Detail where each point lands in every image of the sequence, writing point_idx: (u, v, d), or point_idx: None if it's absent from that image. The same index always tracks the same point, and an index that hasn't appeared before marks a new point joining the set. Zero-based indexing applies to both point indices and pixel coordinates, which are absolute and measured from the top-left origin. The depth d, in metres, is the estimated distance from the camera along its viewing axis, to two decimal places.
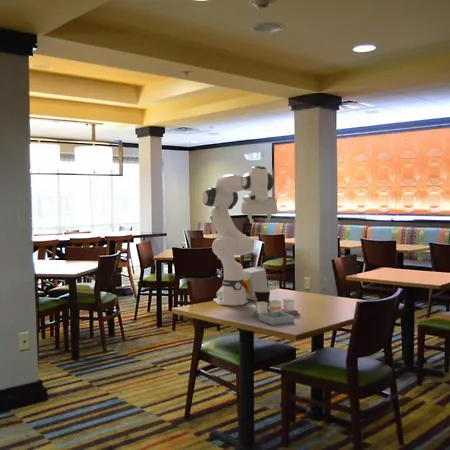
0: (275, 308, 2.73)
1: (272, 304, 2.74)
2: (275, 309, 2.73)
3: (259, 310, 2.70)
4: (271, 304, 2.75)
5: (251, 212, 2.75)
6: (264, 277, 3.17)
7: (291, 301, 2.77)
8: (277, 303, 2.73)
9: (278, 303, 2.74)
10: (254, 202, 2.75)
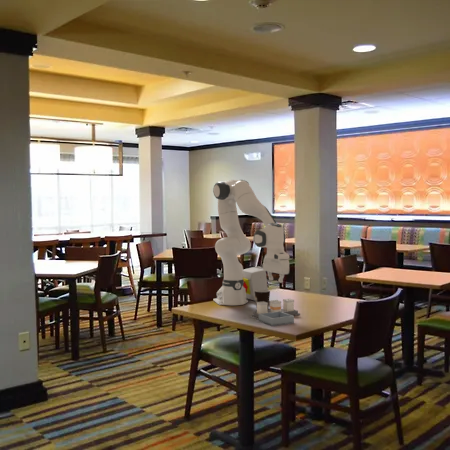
0: (275, 308, 2.73)
1: (272, 304, 2.74)
2: (275, 309, 2.73)
3: (259, 310, 2.70)
4: (271, 304, 2.75)
5: None
6: (264, 277, 3.17)
7: (291, 301, 2.77)
8: (277, 303, 2.73)
9: (278, 303, 2.74)
10: None
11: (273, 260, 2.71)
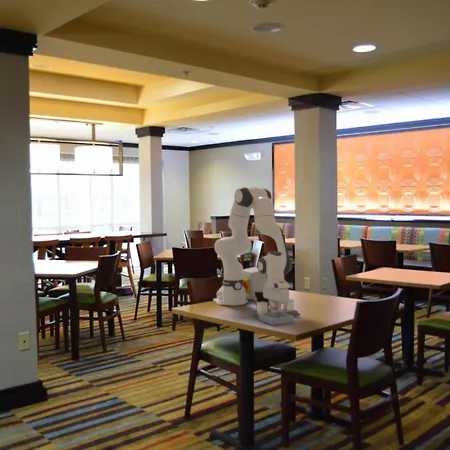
0: (275, 308, 2.73)
1: (272, 304, 2.74)
2: (275, 309, 2.73)
3: (259, 310, 2.70)
4: (271, 304, 2.75)
5: None
6: (264, 277, 3.17)
7: (291, 301, 2.77)
8: None
9: None
10: None
11: (273, 288, 2.72)
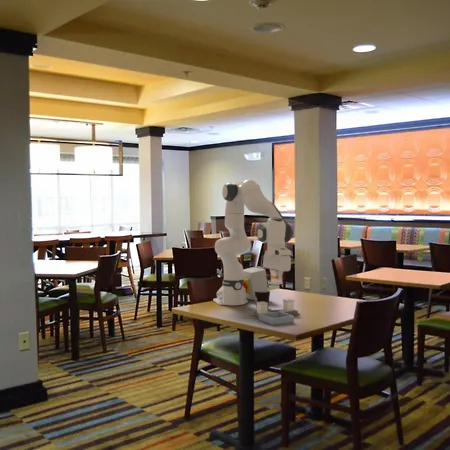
0: (276, 277, 2.58)
1: (273, 273, 2.59)
2: (276, 278, 2.58)
3: (259, 310, 2.70)
4: (272, 273, 2.60)
5: None
6: (264, 277, 3.17)
7: (291, 301, 2.77)
8: (278, 272, 2.59)
9: None
10: None
11: (274, 256, 2.57)
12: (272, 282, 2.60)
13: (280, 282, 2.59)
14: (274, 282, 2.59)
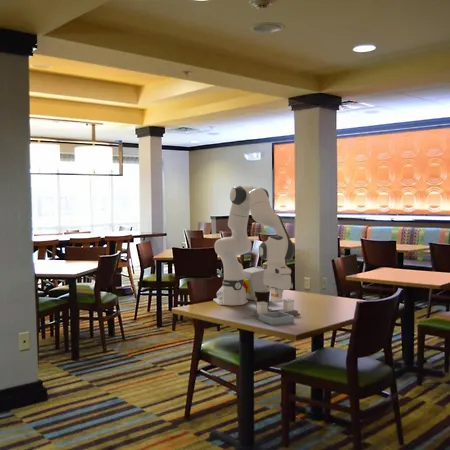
0: (276, 295, 2.59)
1: (273, 291, 2.60)
2: (276, 296, 2.59)
3: (259, 310, 2.70)
4: (272, 291, 2.61)
5: None
6: None
7: (291, 301, 2.77)
8: None
9: None
10: None
11: (274, 274, 2.58)
12: (272, 300, 2.60)
13: (280, 300, 2.60)
14: (274, 300, 2.59)
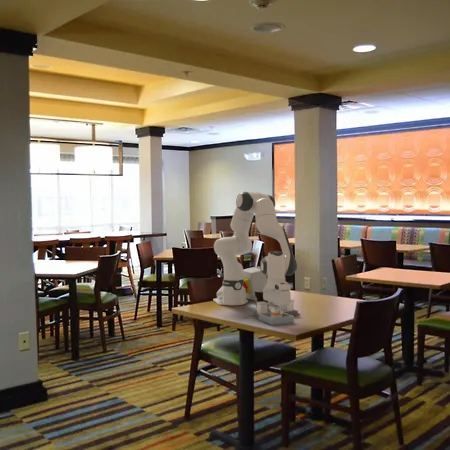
0: (275, 314, 2.59)
1: (273, 309, 2.60)
2: (276, 315, 2.59)
3: (259, 310, 2.70)
4: (272, 309, 2.61)
5: None
6: (264, 277, 3.17)
7: (291, 301, 2.77)
8: (278, 308, 2.60)
9: (279, 308, 2.60)
10: None
11: (274, 290, 2.58)
12: None
13: None
14: None
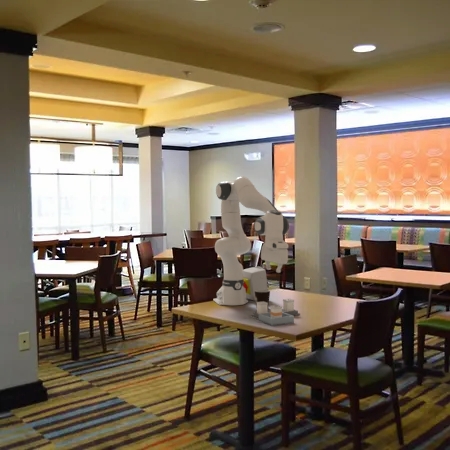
0: (275, 314, 2.59)
1: (273, 309, 2.60)
2: (276, 315, 2.59)
3: (259, 310, 2.70)
4: (272, 309, 2.61)
5: None
6: (264, 277, 3.17)
7: (291, 301, 2.77)
8: (278, 308, 2.60)
9: (279, 308, 2.60)
10: None
11: (271, 249, 2.61)
12: None
13: None
14: None
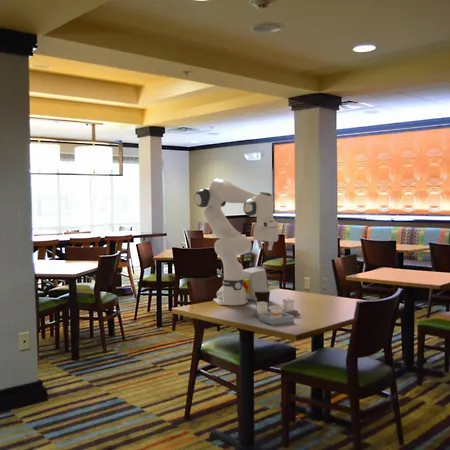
0: (275, 314, 2.59)
1: (273, 309, 2.60)
2: (276, 315, 2.59)
3: (259, 310, 2.70)
4: (272, 309, 2.61)
5: None
6: (264, 277, 3.17)
7: (291, 301, 2.77)
8: (278, 308, 2.60)
9: (279, 308, 2.60)
10: None
11: (263, 228, 2.76)
12: None
13: None
14: None
